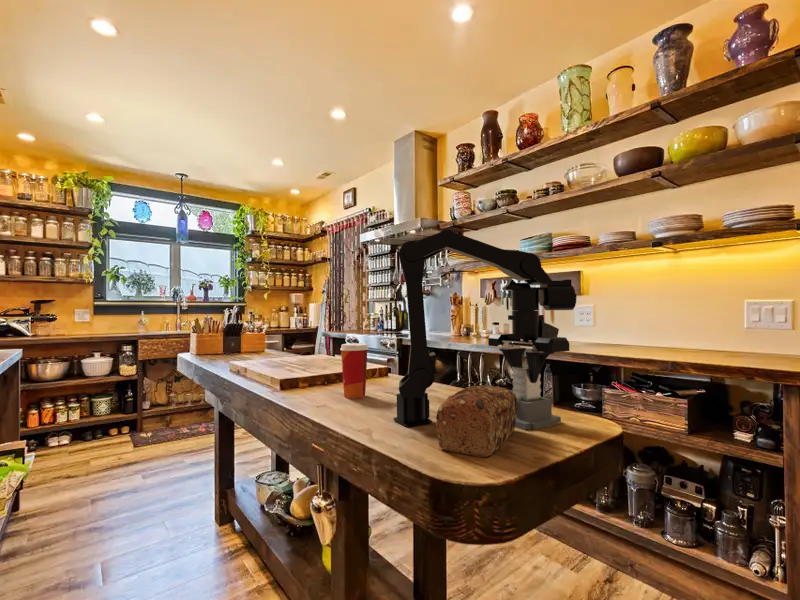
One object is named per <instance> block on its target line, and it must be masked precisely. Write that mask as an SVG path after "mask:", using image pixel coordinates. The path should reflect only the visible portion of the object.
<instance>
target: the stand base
mask: <svg viewBox="0 0 800 600" xmlns="http://www.w3.org/2000/svg"><path fill="white" fill-rule="evenodd" d="M516 399H517V402H516V403H517V410H516V425H515V428H517V427H518V428H517V429H520V428H521V429H520V430H523V429H524V431H527V430H526V429H528V430H533V429H534V431H536V430H540V428H541V429H545V428H544V427H546V428H550V427H554V425H555V426H559V425H558V424H560V423H562V417H561V416H559V415H556V414H552V413H553V412H552V411H553V410H552V399H551V398H547V397H543V396H541V399H540V400H538V401H532V402H524V401H521V398H519V397H516ZM559 422H560V423H559ZM549 426H550V427H549ZM535 429H536V430H535Z"/></svg>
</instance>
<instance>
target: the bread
mask: <svg viewBox="0 0 800 600" xmlns="http://www.w3.org/2000/svg"><path fill="white" fill-rule="evenodd" d="M516 402H517V399H516V395H515V393H514V392H513V391H512V390H511V389H508V388H504V387H500V386H493V385H489V384H488V385H487V384H486V385H482V384H481V385H471V386H467V387H465V388H463V389H461V390H459V391H456V393H454V394H452V395H449V396H448V397H447V398H446V399H445V400H444V401H443V402H442V404H440V405H439V407H438V409H437V411H436V416H435V417H436V421H435V426H436V427H435V430H436V431H437V440H438V441H437V442H438V445H439V446H438V447H439V448H441V449H443V450H444V451H447V452H451V453H455V454H462V455H466V456H473V457H478V458H487V457H490V456H493V453H494V452H495V451H497V450H498V449H500V448H501V446H502V445H503V444H504V443H505V442H507V440H508V439H509V437H511V435H512V434H513V432H514V431H515V428H516V427H515V425H516V410H517V403H516Z"/></svg>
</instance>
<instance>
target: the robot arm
mask: <svg viewBox="0 0 800 600" xmlns="http://www.w3.org/2000/svg"><path fill="white" fill-rule="evenodd" d="M445 250H447V251H450V252H453V253H456V254H458V255H461V256H463V257H466V258H467V257H468V258H469V259H473V260H475V261H479V262H481V263H484V264H487V265H489V266H493V267H494V268H496V269H497V270H498V271H500V272H502V273H503V274H505V275H506V276H508V277H510V278H511V279H509V280H508V282H507V283H506V284H505V285H504V286H503V287H501V290H502V291H505V292H506V291H507V292H508V291H511V315H510V314H508V315H507V320H508V321H511V323H512V324H511V328H512V329H511V330H512V331H511V332H512V333H507V332H506V333H491V334H489V336H488V338H487V339H488V342H487V343H488V347H499V346H501V348H499V349H498V350H499V351H500V352H502V354H503V356H504V357H505V360H506V362H507V363H508V365H509V366H510V369H511V370H512V367H513V366H523V355H524V354H525V356H526V363H527V365H528V368H529V374H530V378H531V382H532V383H536V382H537V379H538V377H539V374H541V371H542V368H543V366H544V364H545V361H546V359H548V357H549V356H550V355H554V354H555V353H560V352H562V353H563V352H570V342H569V340H568V338H567V337H562V336H558V335H559V331H560V328H558V327H555V326H554V325H551V324H550V323H546V322H545V317H544V315H543V314H540V306H541V307H542V308H543V309H544V310H545V311H574V309H575V308H576V306H577V305H576V304H577V293H576V290H575V288H574V286H573V283H572V279H561V280H552V279H551V276H549V275H548V273H547V272H546V271H545V269H544V268H543V267H542V262H541V260H540V257H539V256H538V255H536V254H535V253H533V252H527V251H521V250H514V249H513V250H511V249H503V248H501V247H500V248H499V247H497V246H494V245H491V244H489V243H485V242H483V241H480V240H477V239H474V238H472V237H469V236H466V235H463V234H460V233H458V232H455V231H453V230H452V229H448V228H445V229H443V230H441V231H439V232H437V233H435V234H431V235H430V236H427V237H425V238H422V239H420V240H417V241H416V240H409V241H406V242H404V243H403V244H402V245H401V246H400V248H399V251H398V257H399V258H398V259H399V263H400V267H401V271H402V274H403V279H404V282H405V289H406V298H407V301H406V302H407V313H408V315H407V316H408V327H409V338H410V339H409V340H410V347H409V348H410V349H409V357H408V359H409V360H408V367H407V368H408V369H407V373H406V374H405V375H404V376H403V377H402V378H401V379H399V382H398V383H399V384H398V391H399V393H396V417H395V416H394V417H393V418H392V419H393V421H395V422H396V423H399V424H400V425H403V426H404V427H406V428H408V427H416V426H419V425H420V426H421V425H427V424H430V423H433V420H432V419H430V416H431V415H430V399H429V398H428V396H429V395H428V392H427V389H428V388H430V387H431V386H432V385H433V384H434V382H435V377H436V375H438V374H439V373H438V371H437V367H436V366H437V365H436V363H437V355H436V353H435V352H434V351H432V352H430V351H429V348H428V342H427V341H428V339H427V328H426V314H425V303H424V301H425V300H424V291H423V290H424V288H423V287H424V286H423V281H424V280H423V279H424V272H425V271H424V270H425V261H427V260H428V259H430V258H432V257H434V256H436V255H438V254H440V253H441V252H444V251H445ZM515 281H519V282H515ZM535 286H536V287H535ZM527 347H528V348H529V347H531V350H529V351H528V350H527ZM526 350H527V351H526ZM512 372H513V370H512Z"/></svg>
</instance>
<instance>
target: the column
mask: <svg viewBox="0 0 800 600" xmlns="http://www.w3.org/2000/svg"><path fill="white" fill-rule="evenodd" d="M511 370H513V371H512V374H511V377H512V383H511V385H512V386H513V387H512V388H511V389H512V390H511V391H512V392H514V393H515V395H516V397H519V398H521V401H524V402H532V401H538V400H540V399H541V397H542V396H541V392H542V388H541V385H542V381H541V377H542V374H541V373H540V374H539V377H538V379H537V382H536V383H532V382H531V378H530V374H529V368H528V364H525V365H523V364H522V366H513V367H512V369H511Z"/></svg>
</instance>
